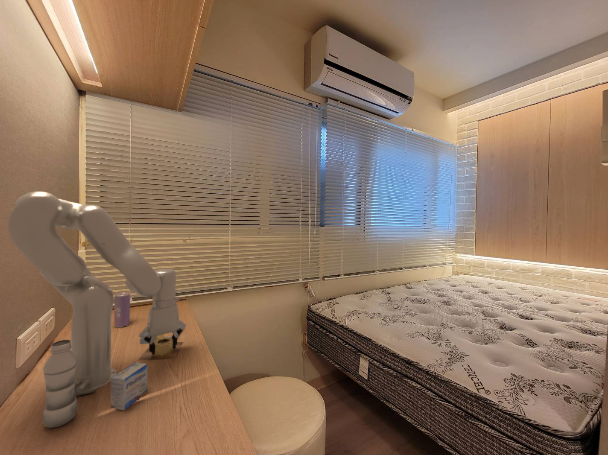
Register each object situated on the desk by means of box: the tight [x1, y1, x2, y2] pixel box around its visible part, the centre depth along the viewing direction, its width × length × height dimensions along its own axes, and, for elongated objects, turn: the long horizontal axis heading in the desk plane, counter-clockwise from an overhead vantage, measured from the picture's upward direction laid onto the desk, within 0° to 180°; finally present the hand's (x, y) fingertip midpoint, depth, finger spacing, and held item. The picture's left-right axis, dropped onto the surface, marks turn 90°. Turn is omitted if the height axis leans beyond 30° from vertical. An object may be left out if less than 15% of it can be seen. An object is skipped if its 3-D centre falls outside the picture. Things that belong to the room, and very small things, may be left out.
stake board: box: [137, 341, 184, 361], centre depth 98 cm, size 13×12×5 cm
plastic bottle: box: [42, 339, 79, 429], centre depth 64 cm, size 6×7×20 cm
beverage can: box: [113, 292, 131, 329], centre depth 122 cm, size 6×6×15 cm
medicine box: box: [110, 362, 148, 411], centre depth 73 cm, size 8×4×9 cm, turn 168°
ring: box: [153, 334, 174, 358], centre depth 98 cm, size 10×6×4 cm, turn 41°
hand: (163, 349), depth 97 cm, fingers closed on ring, 6 cm apart
